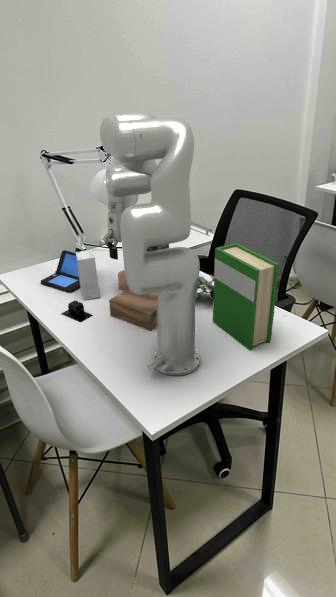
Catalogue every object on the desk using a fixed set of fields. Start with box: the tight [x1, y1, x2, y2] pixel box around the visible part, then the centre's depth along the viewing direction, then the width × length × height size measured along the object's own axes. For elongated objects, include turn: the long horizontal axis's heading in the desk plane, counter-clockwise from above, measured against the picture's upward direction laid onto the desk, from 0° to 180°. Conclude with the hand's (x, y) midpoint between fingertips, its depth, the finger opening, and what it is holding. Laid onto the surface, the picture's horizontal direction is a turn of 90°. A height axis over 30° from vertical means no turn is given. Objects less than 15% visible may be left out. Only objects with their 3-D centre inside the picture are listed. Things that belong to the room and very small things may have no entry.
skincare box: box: [75, 249, 101, 301], centre depth 146 cm, size 8×6×15 cm
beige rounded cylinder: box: [117, 269, 129, 292], centre depth 152 cm, size 5×5×6 cm
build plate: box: [60, 299, 94, 323], centre depth 136 cm, size 12×7×5 cm, turn 53°
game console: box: [40, 249, 81, 294], centre depth 156 cm, size 16×14×9 cm
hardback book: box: [212, 242, 280, 352], centre depth 120 cm, size 18×7×24 cm, turn 29°
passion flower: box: [195, 274, 214, 301], centre depth 141 cm, size 11×11×12 cm
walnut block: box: [108, 289, 161, 332], centre depth 136 cm, size 16×16×6 cm
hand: (123, 253), depth 148 cm, fingers open, 9 cm apart
